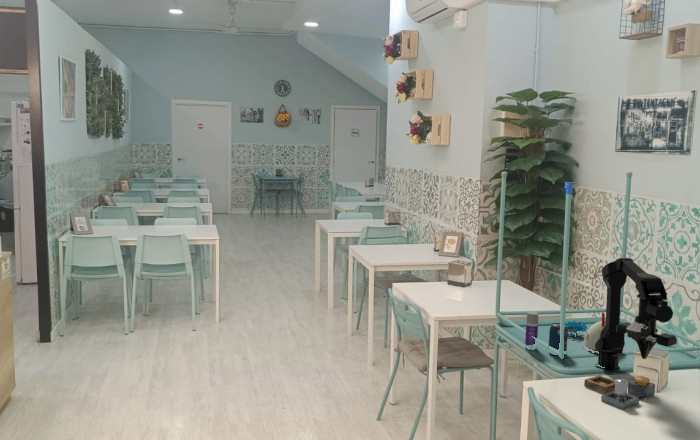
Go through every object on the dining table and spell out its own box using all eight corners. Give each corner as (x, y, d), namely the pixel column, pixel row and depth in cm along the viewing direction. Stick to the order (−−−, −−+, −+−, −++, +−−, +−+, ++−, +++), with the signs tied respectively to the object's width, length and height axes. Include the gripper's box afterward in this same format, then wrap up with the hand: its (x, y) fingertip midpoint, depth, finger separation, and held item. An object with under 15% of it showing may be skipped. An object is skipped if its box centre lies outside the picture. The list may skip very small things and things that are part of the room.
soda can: (567, 357, 264) (569, 328, 262) (549, 356, 265) (550, 326, 263) (565, 351, 270) (567, 323, 269) (547, 350, 272) (549, 321, 270)
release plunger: (631, 391, 229) (632, 377, 228) (638, 388, 231) (639, 375, 231) (643, 395, 225) (644, 382, 224) (651, 392, 228) (652, 379, 227)
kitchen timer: (618, 346, 278) (621, 311, 276) (619, 357, 265) (622, 320, 263) (583, 342, 283) (585, 307, 281) (582, 352, 270) (585, 316, 268)
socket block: (601, 400, 223) (601, 389, 222) (634, 388, 233) (635, 377, 233) (623, 409, 216) (624, 397, 215) (657, 396, 227) (658, 385, 226)
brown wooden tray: (584, 385, 235) (584, 379, 235) (598, 381, 240) (599, 374, 239) (605, 394, 228) (605, 387, 228) (619, 388, 233) (620, 382, 233)
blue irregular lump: (588, 330, 293) (586, 319, 286) (588, 342, 290) (586, 331, 283) (561, 330, 297) (559, 319, 290) (561, 342, 294) (559, 331, 287)
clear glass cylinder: (611, 401, 222) (613, 379, 221) (618, 398, 224) (619, 377, 223) (621, 405, 219) (623, 383, 218) (628, 402, 221) (630, 381, 220)
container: (528, 350, 271) (530, 314, 268) (522, 347, 275) (524, 311, 273) (539, 350, 272) (541, 314, 270) (532, 346, 276) (534, 311, 274)
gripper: (608, 310, 227) (605, 355, 229) (660, 324, 212) (656, 371, 214) (627, 306, 234) (624, 349, 236) (679, 319, 218) (675, 365, 221)
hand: (644, 358), depth 226 cm, fingers closed
